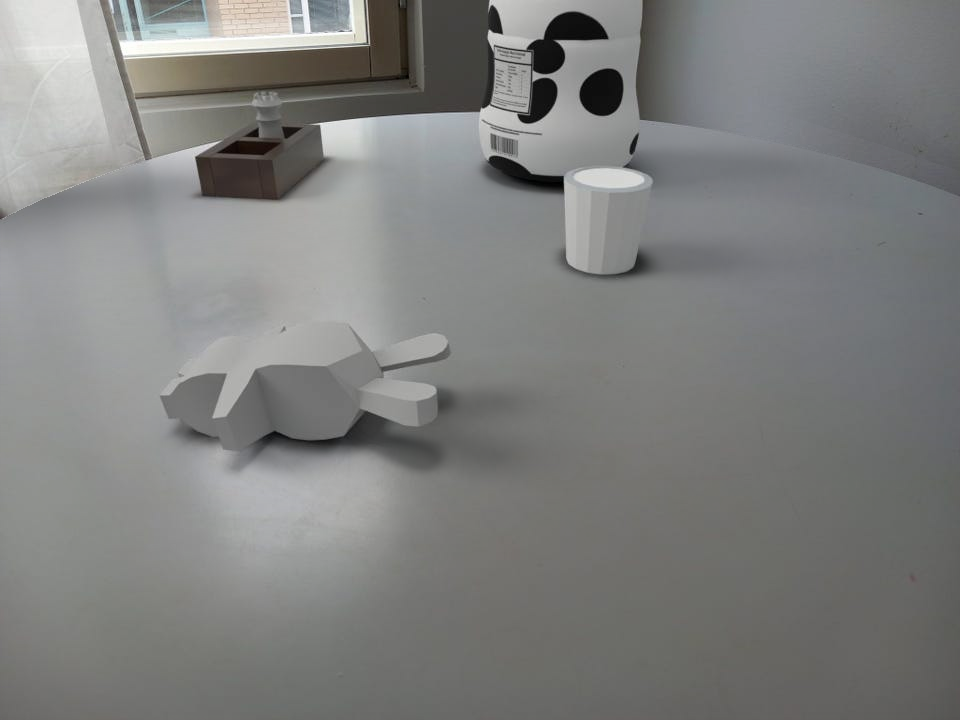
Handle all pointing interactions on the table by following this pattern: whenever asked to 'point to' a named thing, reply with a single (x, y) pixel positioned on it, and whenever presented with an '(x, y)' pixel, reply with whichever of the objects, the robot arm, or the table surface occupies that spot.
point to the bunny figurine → (300, 384)
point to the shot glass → (604, 217)
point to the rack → (259, 162)
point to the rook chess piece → (268, 115)
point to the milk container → (560, 86)
